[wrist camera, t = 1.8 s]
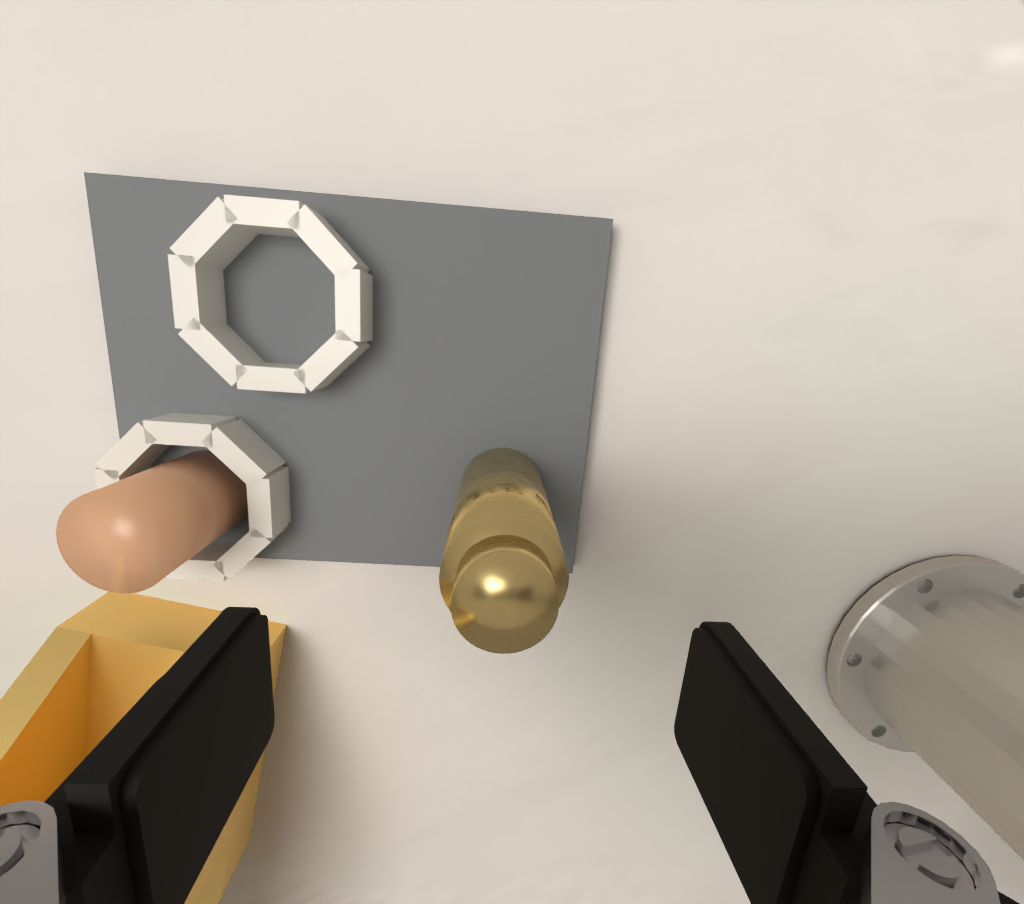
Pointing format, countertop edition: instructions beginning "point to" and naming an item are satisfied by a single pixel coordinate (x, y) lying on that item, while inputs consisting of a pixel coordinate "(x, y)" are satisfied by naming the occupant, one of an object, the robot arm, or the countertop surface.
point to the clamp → (110, 705)
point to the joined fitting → (176, 505)
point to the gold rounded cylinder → (503, 555)
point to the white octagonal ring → (205, 306)
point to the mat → (371, 355)
